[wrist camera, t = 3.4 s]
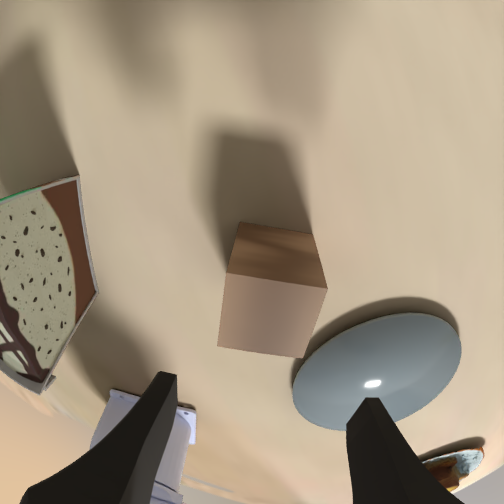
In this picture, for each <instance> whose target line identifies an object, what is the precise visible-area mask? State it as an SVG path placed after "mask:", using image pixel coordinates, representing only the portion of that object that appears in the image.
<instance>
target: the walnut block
mask: <svg viewBox="0 0 504 504" xmlns="http://www.w3.org/2000/svg"><path fill="white" fill-rule="evenodd" d="M327 289H328V288H327V284H326V280H325V276H324V273H323V269H322V265H321V262H320V258H319V254H318V251H317V247H316V243H315V240H314V236H313V234H308V233H302V232H296V231H291V230H285V229H279V228H273V227H267V226H261V225H255V224H249V223H243V222H240V224H239V227H238V231H237V235H236V238H235V242H234V246H233V249H232V253H231V257H230V261H229V264H228V268H227V272H226V279H225V287H224V295H223V303H222V311H221V319H220V327H219V336H218V344H217V346H219V347H225V348H230V349H237V350H243V351H249V352H256V353H263V354H270V355H278V356H286V357H294V358H303V357H304V354H305V351H306V349H307V346H308V343H309V341H310V338H311V335H312V333H313V330H314V327H315V324H316V321H317V319H318V316H319V313H320V310H321V307H322V304H323V301H324V298H325V295H326V292H327Z"/></svg>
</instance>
